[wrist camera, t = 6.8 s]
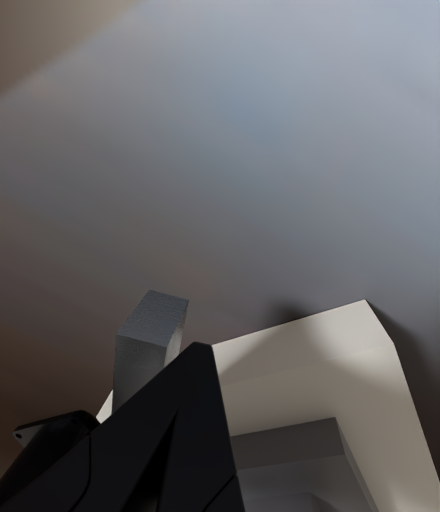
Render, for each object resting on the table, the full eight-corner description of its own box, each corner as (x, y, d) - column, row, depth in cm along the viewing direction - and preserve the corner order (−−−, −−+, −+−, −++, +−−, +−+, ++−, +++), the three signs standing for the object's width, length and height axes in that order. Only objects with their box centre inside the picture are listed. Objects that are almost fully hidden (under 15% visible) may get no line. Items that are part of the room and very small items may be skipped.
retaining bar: (164, 484, 15) (135, 583, 11) (131, 474, 15) (94, 570, 12) (208, 277, 9) (179, 350, 6) (158, 264, 10) (103, 330, 6)
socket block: (223, 507, 21) (218, 562, 18) (123, 371, 17) (95, 417, 14) (430, 485, 17) (463, 553, 14) (365, 299, 12) (393, 344, 10)
